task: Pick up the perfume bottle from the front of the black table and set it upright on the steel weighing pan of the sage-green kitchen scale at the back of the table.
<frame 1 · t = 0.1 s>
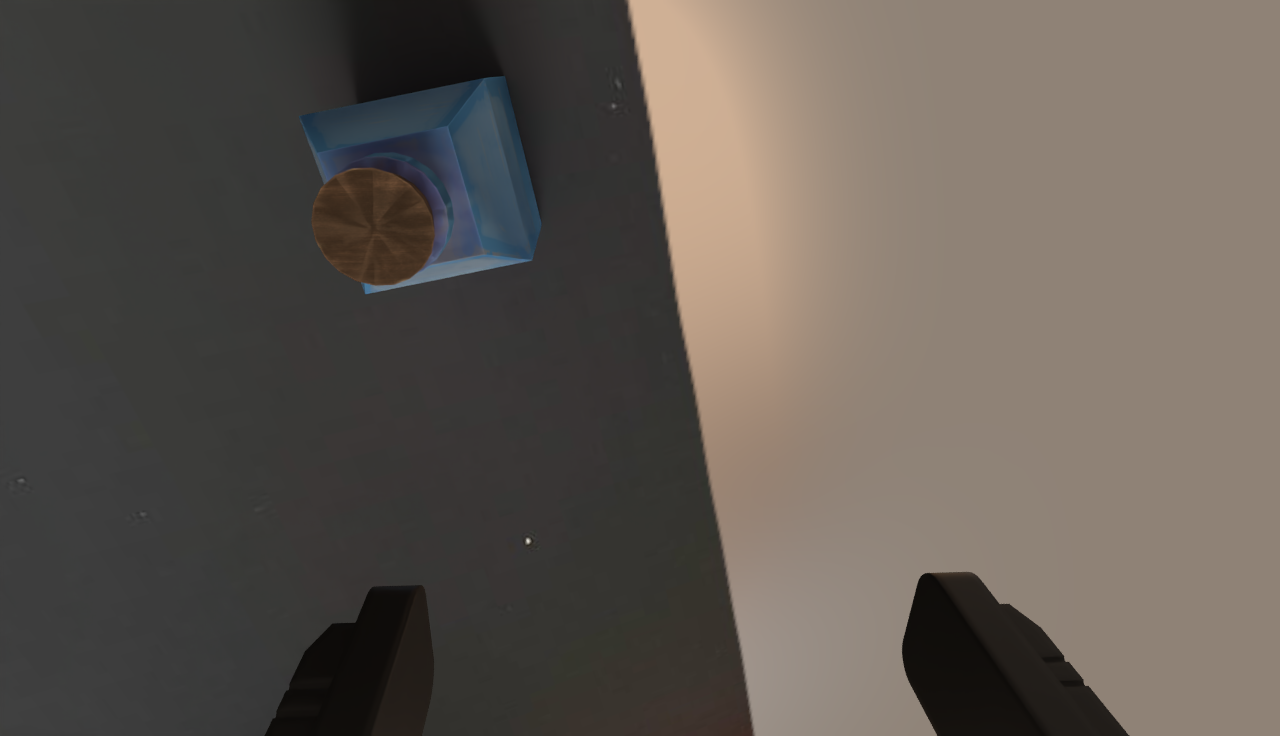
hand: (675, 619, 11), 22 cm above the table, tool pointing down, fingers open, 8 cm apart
perfume bottle: (454, 167, 29), on the table
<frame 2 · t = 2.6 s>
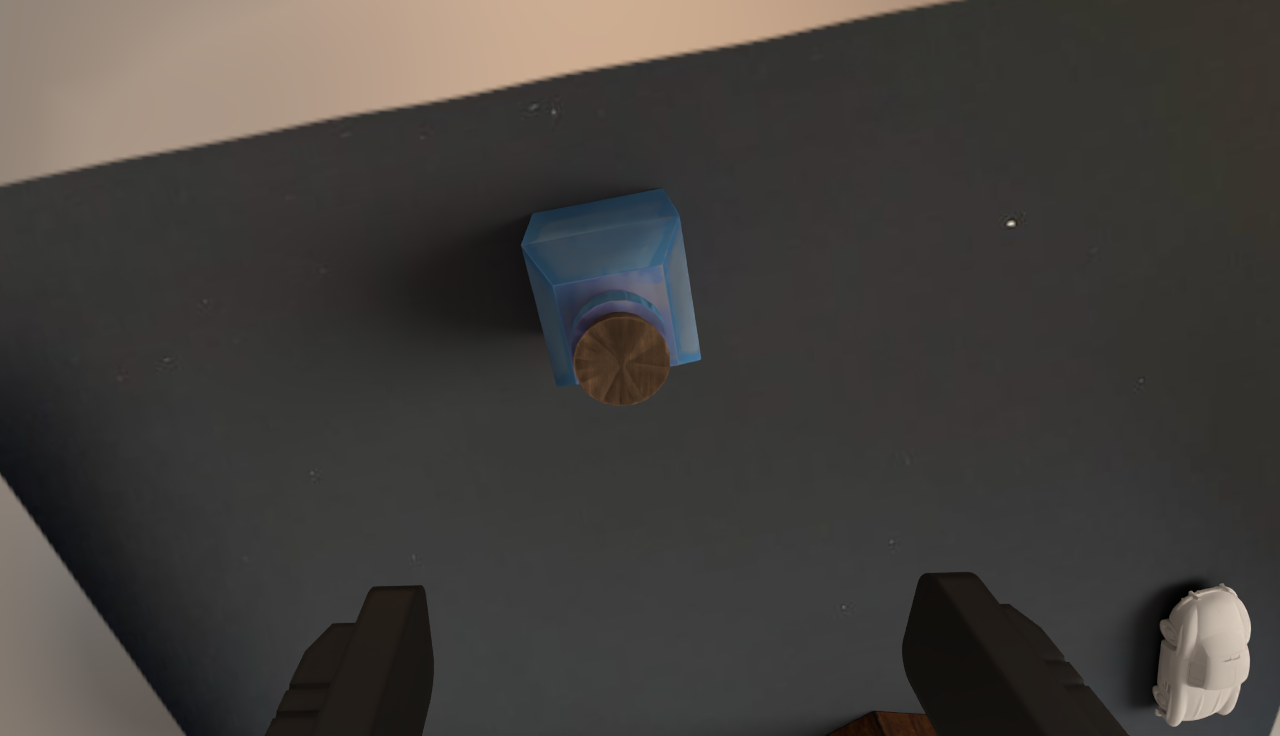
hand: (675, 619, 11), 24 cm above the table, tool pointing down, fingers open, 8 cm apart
toy car: (1184, 641, 47), on the table
perfume bottle: (610, 263, 33), on the table
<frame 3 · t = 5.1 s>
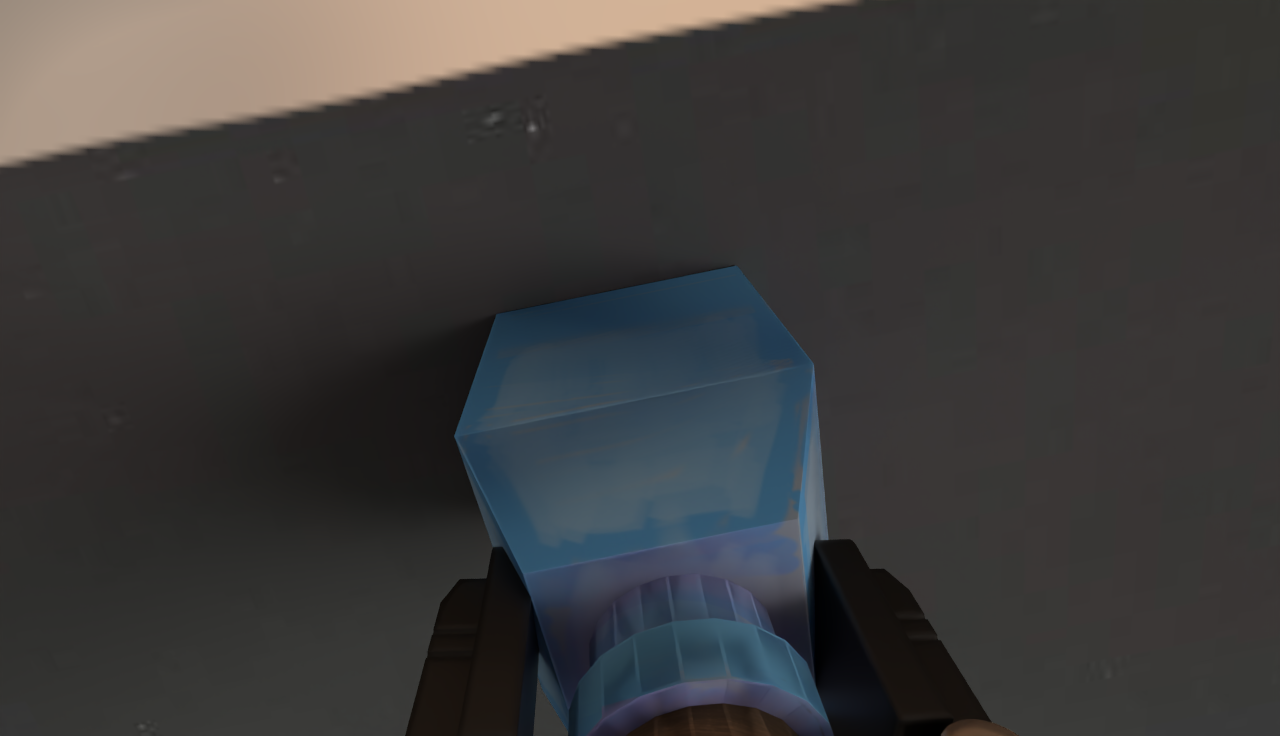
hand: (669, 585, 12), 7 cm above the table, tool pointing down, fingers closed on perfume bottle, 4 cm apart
perfume bottle: (638, 393, 18), on the table, touching gripper
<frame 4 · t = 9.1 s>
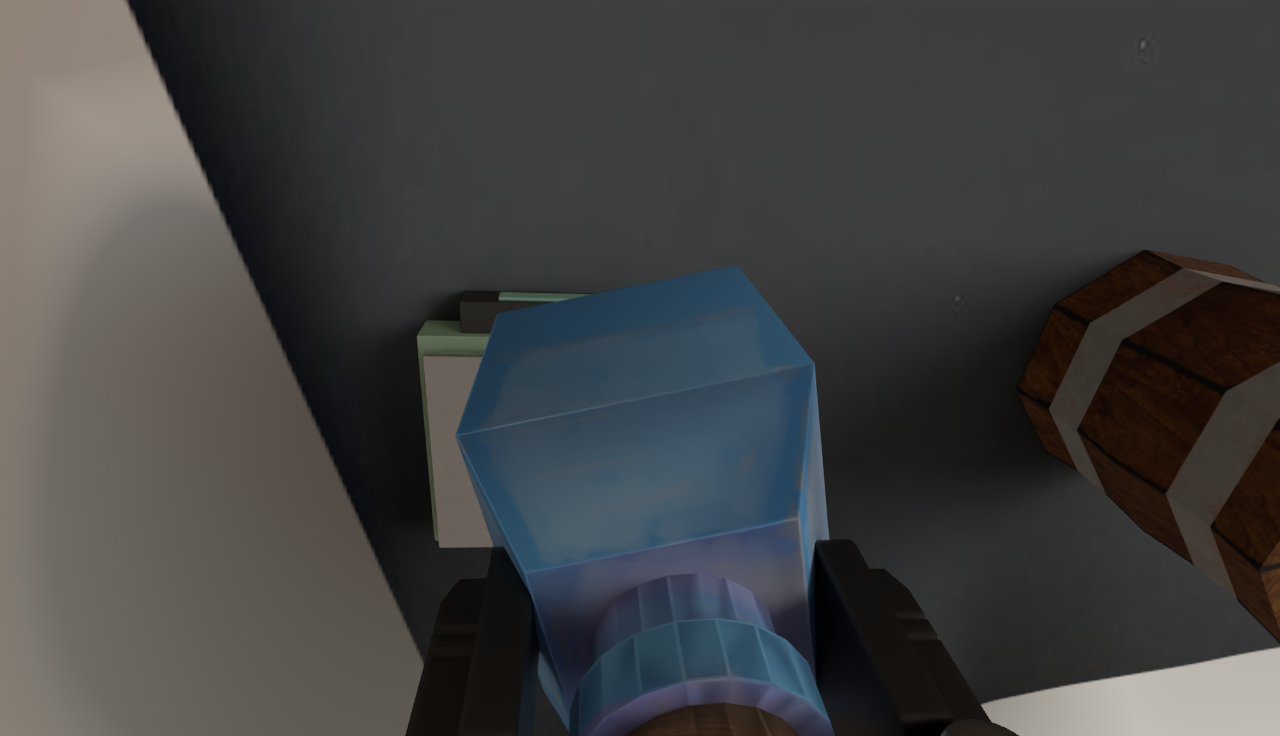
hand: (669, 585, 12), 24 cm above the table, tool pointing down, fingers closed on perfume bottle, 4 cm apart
scale: (546, 425, 37), on the table
perfume bottle: (638, 393, 18), point 16 cm above the table, touching gripper
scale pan: (544, 452, 34), point 3 cm above the table, slide at 0.0 cm
mug: (1183, 350, 38), on the table
when the fingers open (11 cm above the table, at t = 13.1 s): perfume bottle stays where it is, resting on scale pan.
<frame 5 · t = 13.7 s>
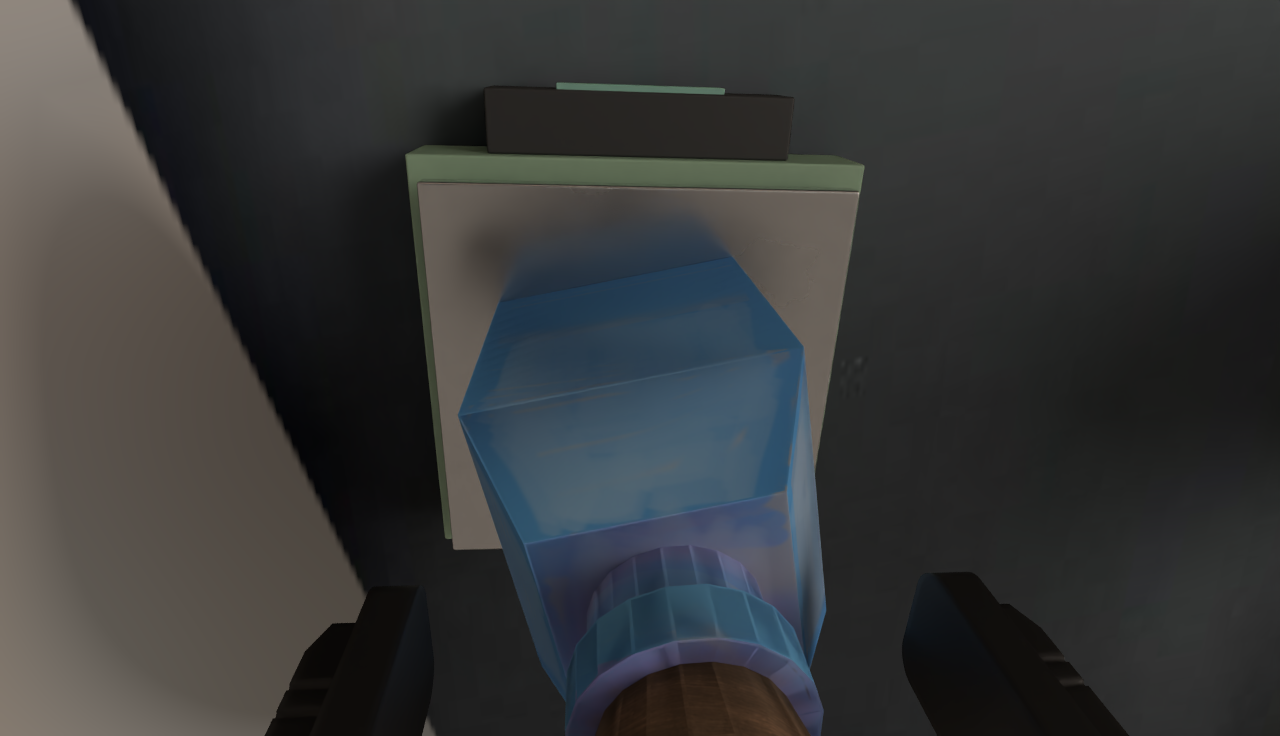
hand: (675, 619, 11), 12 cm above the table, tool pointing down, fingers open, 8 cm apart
scale: (630, 342, 22), on the table
perfume bottle: (636, 381, 19), point 3 cm above the table, touching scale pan
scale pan: (636, 379, 19), point 3 cm above the table, slide at 0.0 cm, touching perfume bottle, scale
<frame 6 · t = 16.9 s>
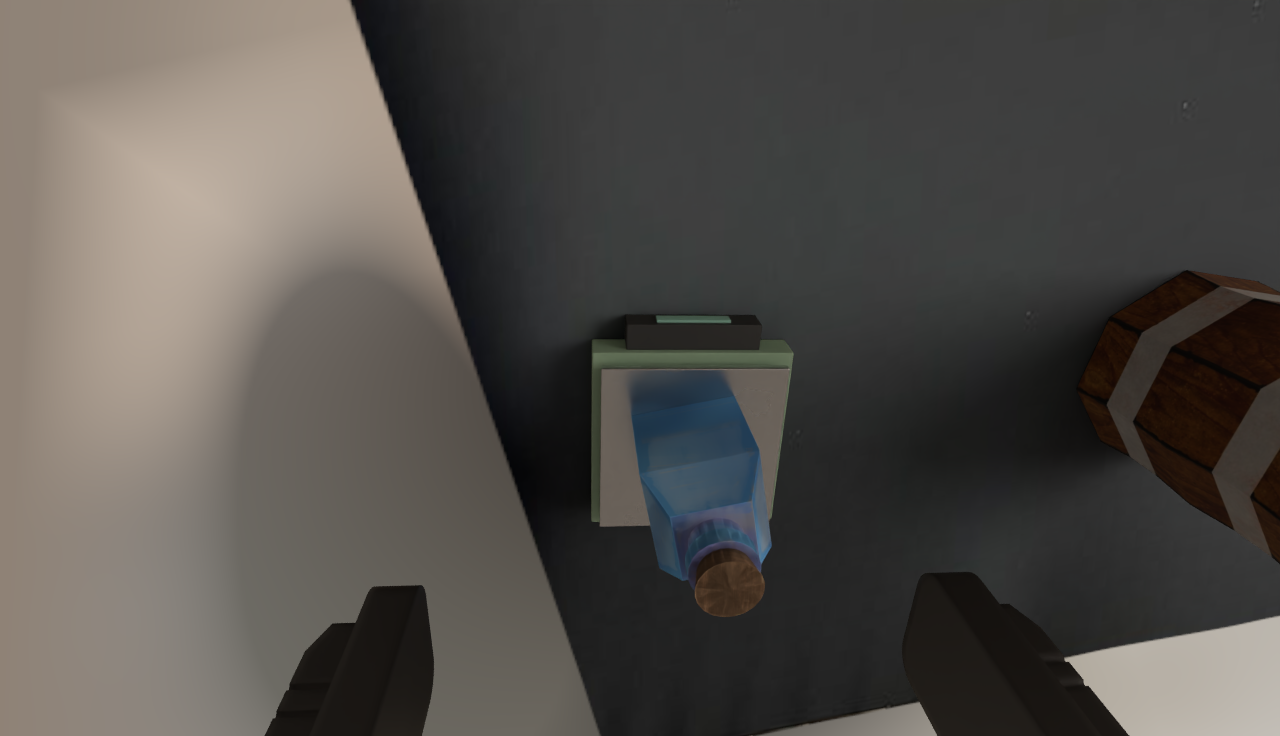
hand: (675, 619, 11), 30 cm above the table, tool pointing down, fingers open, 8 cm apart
scale: (683, 424, 44), on the table
perfume bottle: (690, 448, 41), point 3 cm above the table, touching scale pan
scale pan: (689, 446, 41), point 3 cm above the table, slide at 0.0 cm, touching perfume bottle, scale
mug: (1218, 353, 45), on the table
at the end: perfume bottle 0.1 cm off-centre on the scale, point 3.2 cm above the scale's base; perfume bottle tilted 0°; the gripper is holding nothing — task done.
